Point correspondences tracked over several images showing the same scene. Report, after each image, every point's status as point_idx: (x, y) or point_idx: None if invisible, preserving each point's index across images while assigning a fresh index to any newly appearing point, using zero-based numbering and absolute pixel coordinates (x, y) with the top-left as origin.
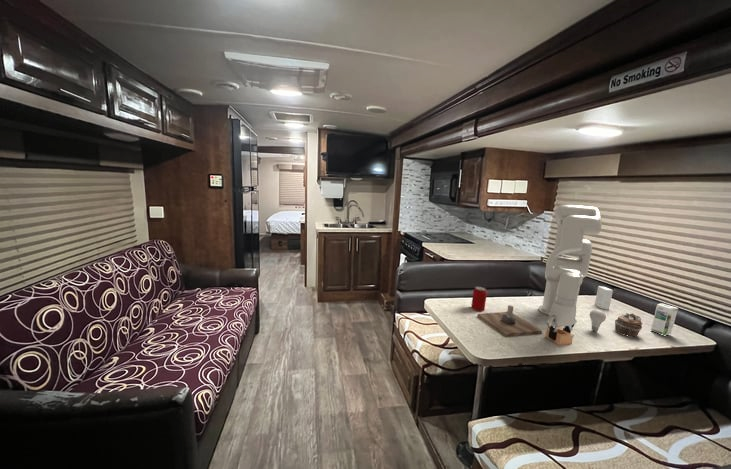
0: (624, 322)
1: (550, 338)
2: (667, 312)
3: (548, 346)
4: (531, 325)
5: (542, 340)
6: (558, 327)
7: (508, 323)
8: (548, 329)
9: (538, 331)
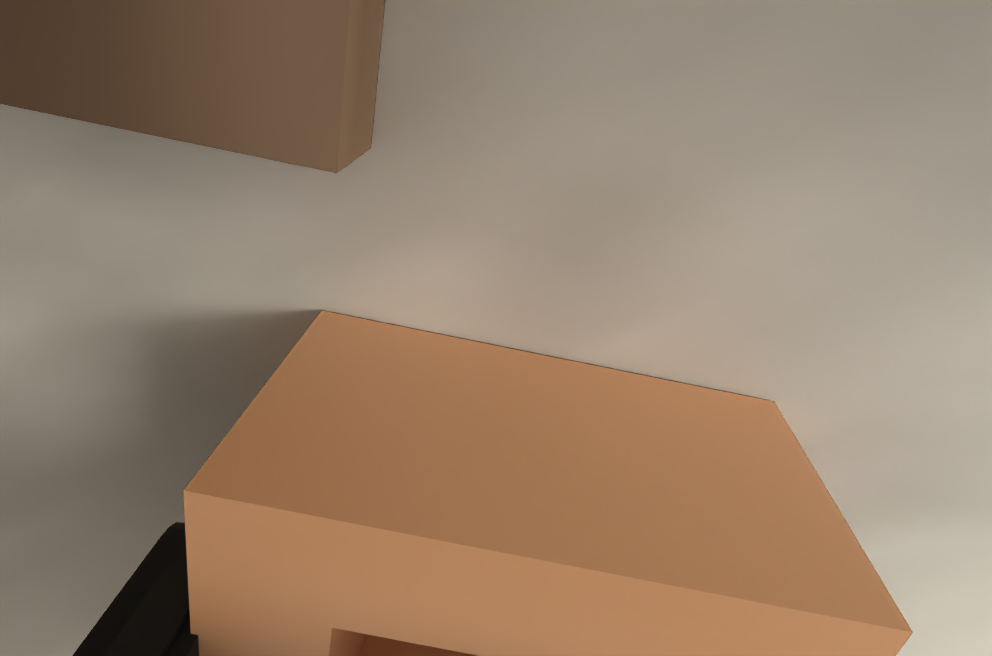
0: None
1: None
2: None
3: (6, 566)
4: None
5: (56, 396)
6: (877, 629)
7: None
8: (192, 552)
9: (173, 131)
